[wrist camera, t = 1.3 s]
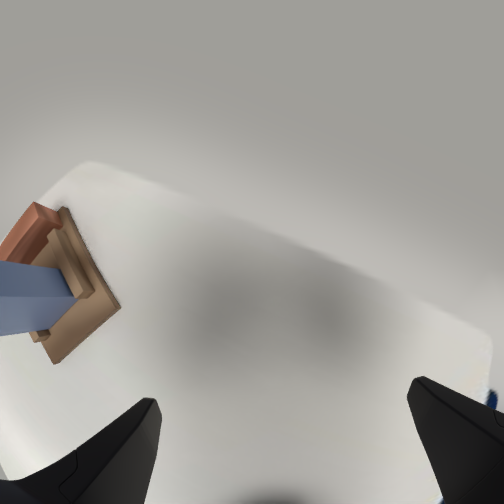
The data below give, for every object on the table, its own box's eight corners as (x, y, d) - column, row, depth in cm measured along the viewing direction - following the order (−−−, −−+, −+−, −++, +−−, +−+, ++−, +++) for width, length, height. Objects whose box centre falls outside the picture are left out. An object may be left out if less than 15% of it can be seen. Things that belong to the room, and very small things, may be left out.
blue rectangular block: (81, 296, 21) (-20, 295, 9) (49, 328, 20) (-41, 340, 9) (68, 270, 21) (-30, 255, 9) (37, 304, 21) (-51, 304, 9)
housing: (120, 308, 22) (91, 311, 17) (58, 362, 21) (29, 372, 16) (67, 208, 23) (39, 194, 18) (16, 270, 22) (-13, 266, 18)
